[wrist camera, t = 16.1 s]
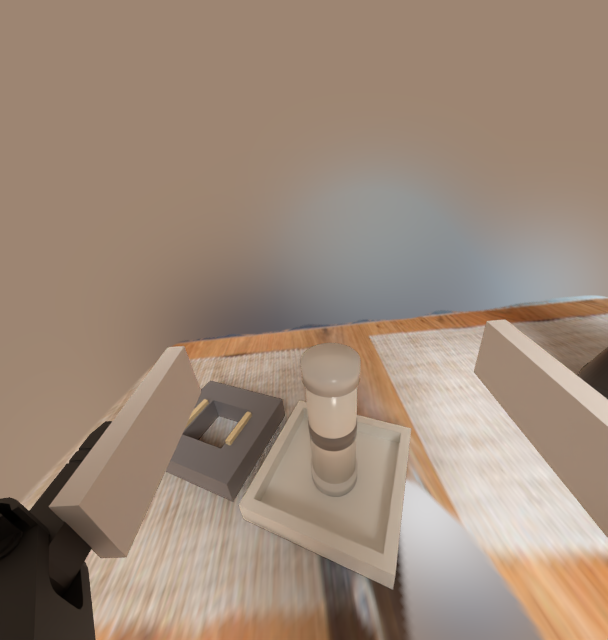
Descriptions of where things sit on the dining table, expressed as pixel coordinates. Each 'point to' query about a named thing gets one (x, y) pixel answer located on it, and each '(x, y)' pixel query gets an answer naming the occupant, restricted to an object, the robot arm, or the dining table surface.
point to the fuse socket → (241, 445)
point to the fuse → (332, 415)
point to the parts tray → (335, 512)
